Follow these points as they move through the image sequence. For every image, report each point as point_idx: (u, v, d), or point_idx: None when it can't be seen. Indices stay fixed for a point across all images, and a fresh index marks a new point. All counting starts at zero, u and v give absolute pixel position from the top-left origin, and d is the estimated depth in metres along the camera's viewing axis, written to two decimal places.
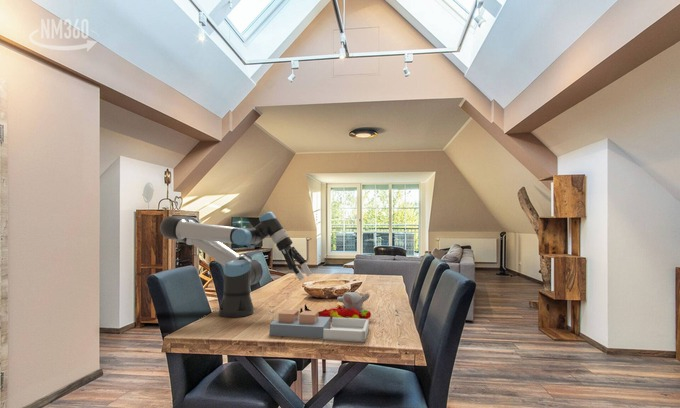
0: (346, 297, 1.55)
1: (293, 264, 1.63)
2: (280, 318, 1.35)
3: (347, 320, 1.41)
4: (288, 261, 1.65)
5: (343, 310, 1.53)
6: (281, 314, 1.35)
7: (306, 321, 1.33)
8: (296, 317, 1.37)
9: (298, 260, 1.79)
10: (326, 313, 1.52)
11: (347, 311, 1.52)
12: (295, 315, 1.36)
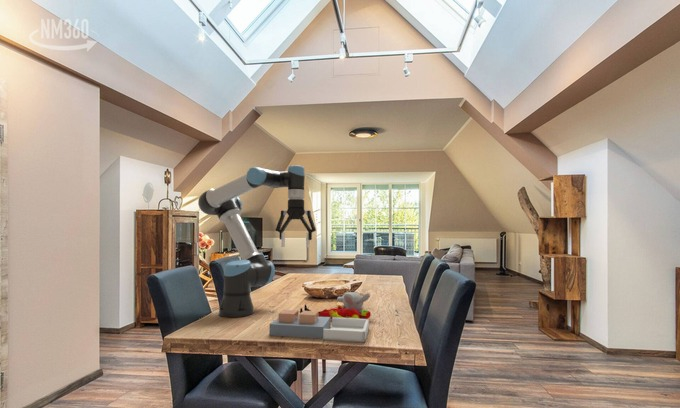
0: (347, 297, 1.55)
1: (276, 230, 1.65)
2: (280, 318, 1.35)
3: (347, 320, 1.41)
4: None
5: (343, 310, 1.53)
6: (281, 314, 1.35)
7: (306, 321, 1.33)
8: (296, 317, 1.37)
9: None
10: (326, 313, 1.52)
11: (347, 311, 1.52)
12: (295, 315, 1.36)
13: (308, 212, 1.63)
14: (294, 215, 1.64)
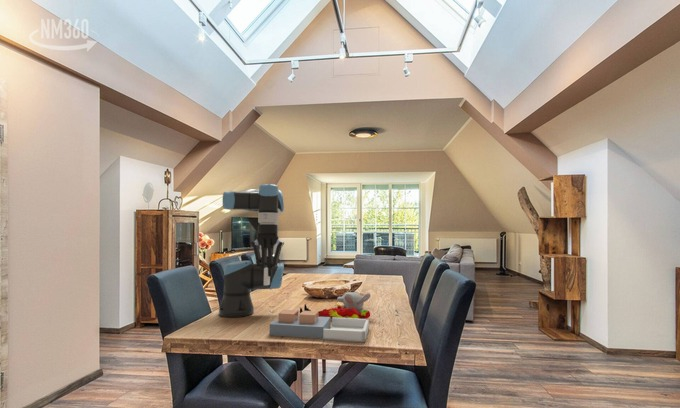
0: (347, 297, 1.55)
1: (258, 265, 1.39)
2: (280, 318, 1.35)
3: (347, 320, 1.41)
4: None
5: (343, 310, 1.53)
6: (281, 314, 1.35)
7: (306, 321, 1.33)
8: (296, 317, 1.37)
9: None
10: (326, 313, 1.53)
11: (347, 311, 1.52)
12: (295, 315, 1.36)
13: (280, 244, 1.38)
14: (265, 243, 1.39)
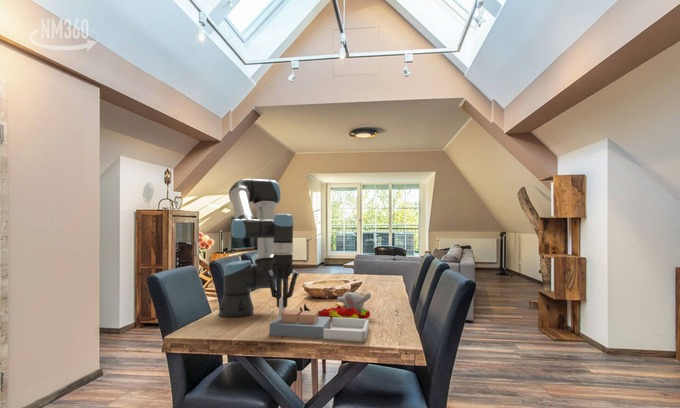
0: (348, 297, 1.55)
1: (273, 296, 1.37)
2: (283, 318, 1.34)
3: (347, 320, 1.41)
4: None
5: (342, 310, 1.54)
6: (284, 314, 1.35)
7: (306, 321, 1.33)
8: None
9: None
10: (326, 313, 1.53)
11: (346, 311, 1.53)
12: (298, 315, 1.36)
13: (295, 275, 1.36)
14: (280, 273, 1.37)
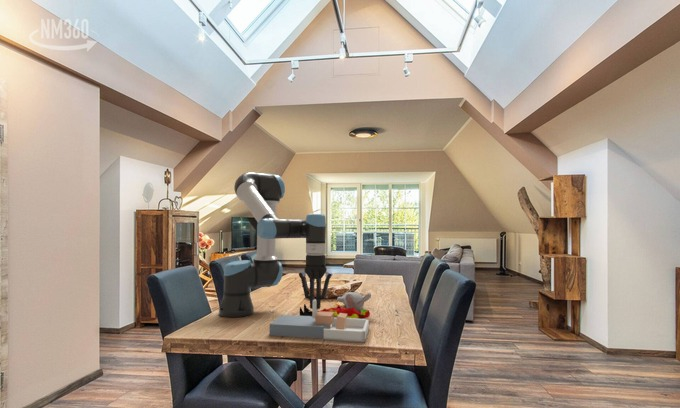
0: (348, 297, 1.55)
1: (306, 297, 1.35)
2: (317, 320, 1.32)
3: (347, 320, 1.41)
4: None
5: (342, 309, 1.54)
6: (318, 316, 1.32)
7: (337, 324, 1.31)
8: (332, 319, 1.35)
9: None
10: None
11: (346, 310, 1.53)
12: (332, 317, 1.33)
13: (329, 276, 1.34)
14: (313, 274, 1.35)
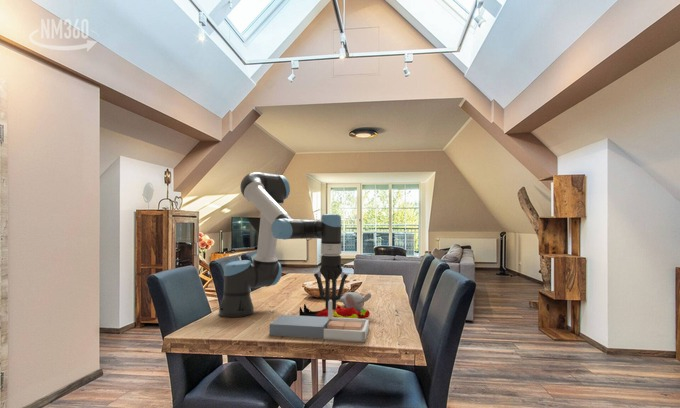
0: (348, 297, 1.55)
1: (322, 298, 1.34)
2: None
3: (347, 320, 1.41)
4: None
5: (342, 309, 1.54)
6: (330, 326, 1.32)
7: (352, 328, 1.30)
8: None
9: None
10: (325, 312, 1.53)
11: (346, 310, 1.53)
12: None
13: (344, 276, 1.33)
14: (329, 275, 1.34)
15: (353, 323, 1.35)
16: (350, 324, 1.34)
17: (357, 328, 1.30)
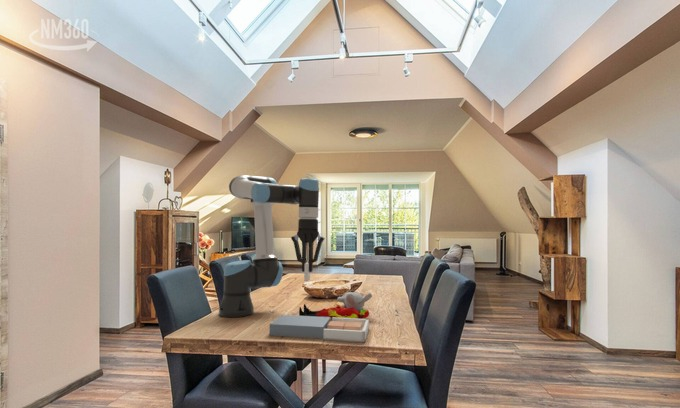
0: (349, 297, 1.55)
1: (298, 260, 1.37)
2: None
3: (347, 320, 1.41)
4: None
5: (342, 309, 1.54)
6: (330, 326, 1.32)
7: (352, 328, 1.30)
8: None
9: None
10: (325, 312, 1.54)
11: (346, 310, 1.53)
12: None
13: (321, 239, 1.36)
14: (306, 238, 1.37)
15: (353, 323, 1.35)
16: (350, 324, 1.34)
17: (357, 328, 1.30)
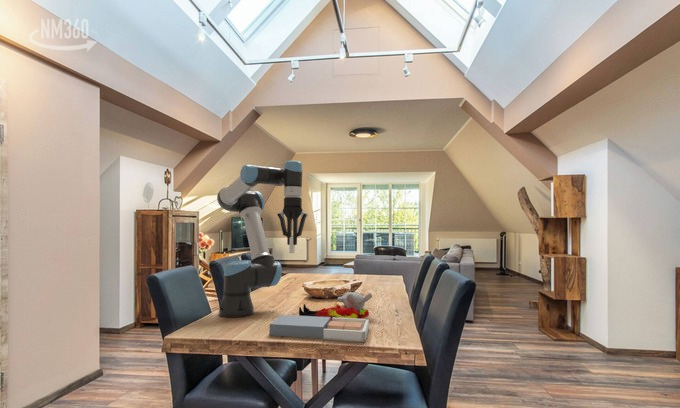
0: (349, 297, 1.55)
1: (284, 234, 1.52)
2: None
3: (347, 320, 1.41)
4: None
5: (341, 309, 1.54)
6: (330, 326, 1.32)
7: (352, 328, 1.30)
8: None
9: None
10: (325, 312, 1.54)
11: (345, 310, 1.54)
12: None
13: (304, 215, 1.51)
14: (291, 214, 1.52)
15: (353, 323, 1.35)
16: (350, 324, 1.34)
17: (357, 328, 1.30)
